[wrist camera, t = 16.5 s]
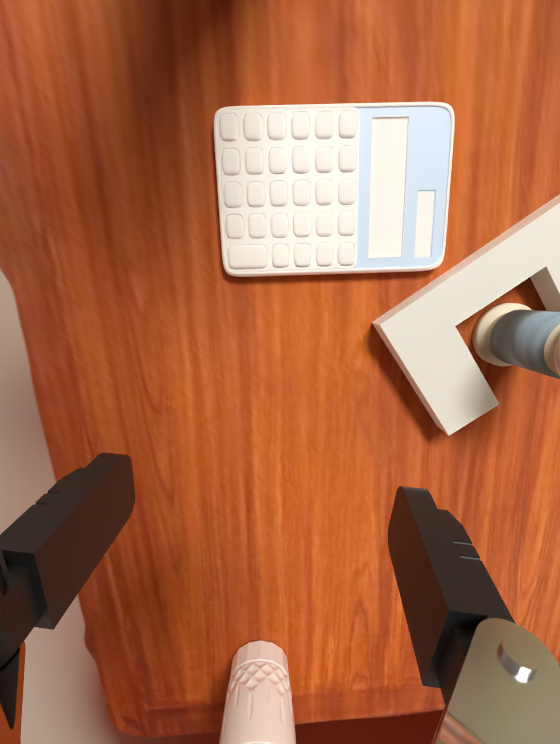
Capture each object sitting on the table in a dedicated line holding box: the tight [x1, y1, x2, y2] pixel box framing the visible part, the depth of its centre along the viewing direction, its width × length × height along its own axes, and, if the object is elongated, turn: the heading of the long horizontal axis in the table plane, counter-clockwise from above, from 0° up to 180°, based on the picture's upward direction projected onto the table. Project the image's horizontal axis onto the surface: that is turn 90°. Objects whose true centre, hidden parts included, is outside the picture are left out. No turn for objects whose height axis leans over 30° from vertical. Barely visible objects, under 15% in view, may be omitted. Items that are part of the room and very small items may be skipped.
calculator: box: [214, 102, 455, 277], centre depth 30 cm, size 13×20×2 cm, turn 92°
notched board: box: [372, 194, 560, 435], centre depth 32 cm, size 13×20×2 cm, turn 125°
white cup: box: [219, 640, 296, 744], centre depth 37 cm, size 8×8×10 cm
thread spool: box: [472, 303, 560, 379], centre depth 28 cm, size 6×6×10 cm
